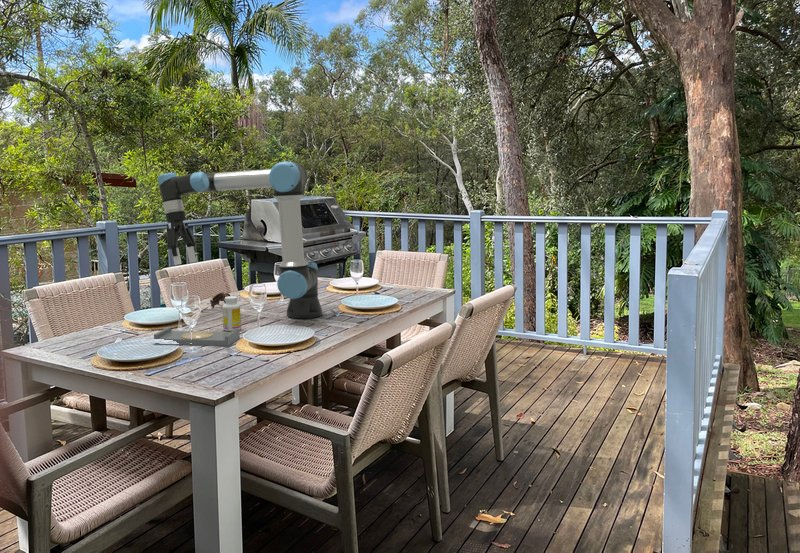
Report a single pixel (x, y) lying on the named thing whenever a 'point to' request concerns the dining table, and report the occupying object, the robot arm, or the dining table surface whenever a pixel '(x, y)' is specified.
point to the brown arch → (218, 299)
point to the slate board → (199, 337)
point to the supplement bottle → (231, 314)
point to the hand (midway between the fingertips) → (185, 263)
